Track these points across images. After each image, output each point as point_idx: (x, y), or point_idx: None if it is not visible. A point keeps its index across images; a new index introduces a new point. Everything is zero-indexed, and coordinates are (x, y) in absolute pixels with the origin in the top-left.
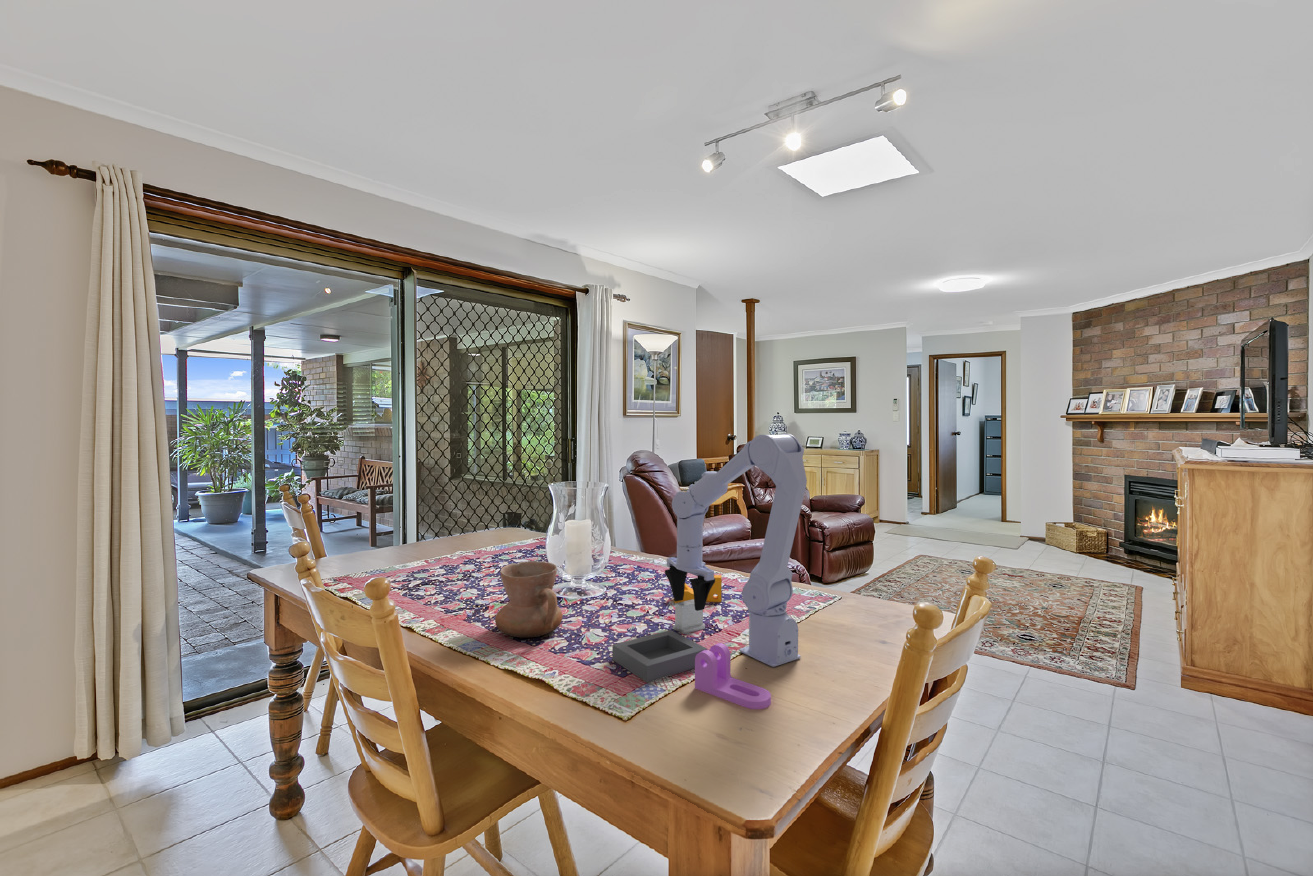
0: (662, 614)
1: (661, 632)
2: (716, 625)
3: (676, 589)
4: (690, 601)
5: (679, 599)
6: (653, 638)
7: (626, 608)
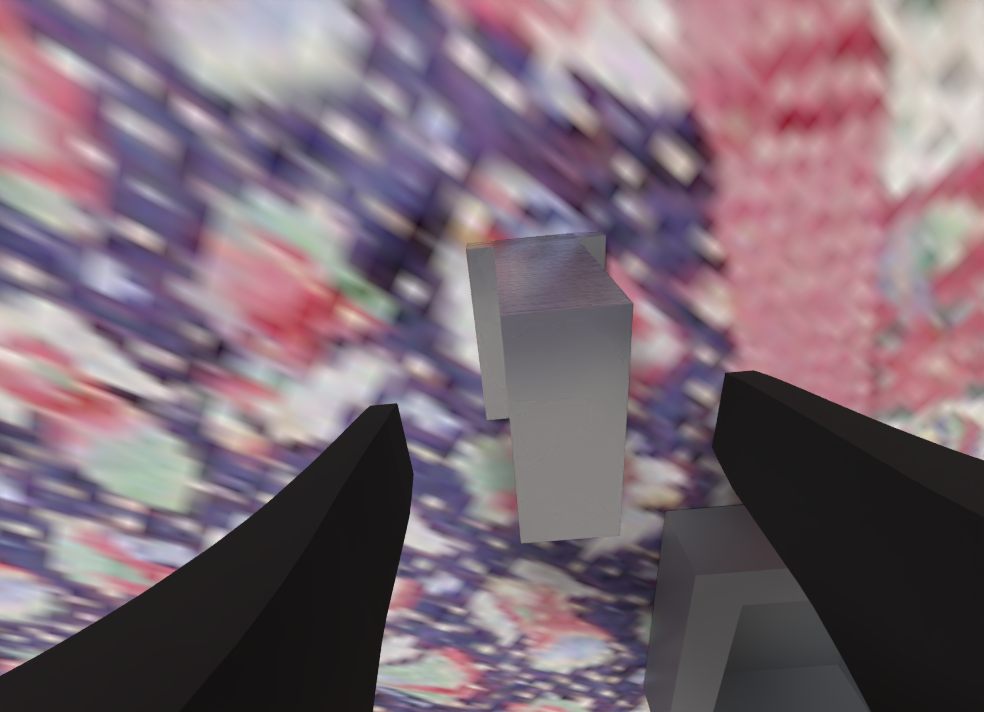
0: (202, 339)
1: (692, 615)
2: (598, 96)
3: (383, 571)
4: (550, 419)
5: (401, 447)
6: (725, 658)
7: (35, 470)
